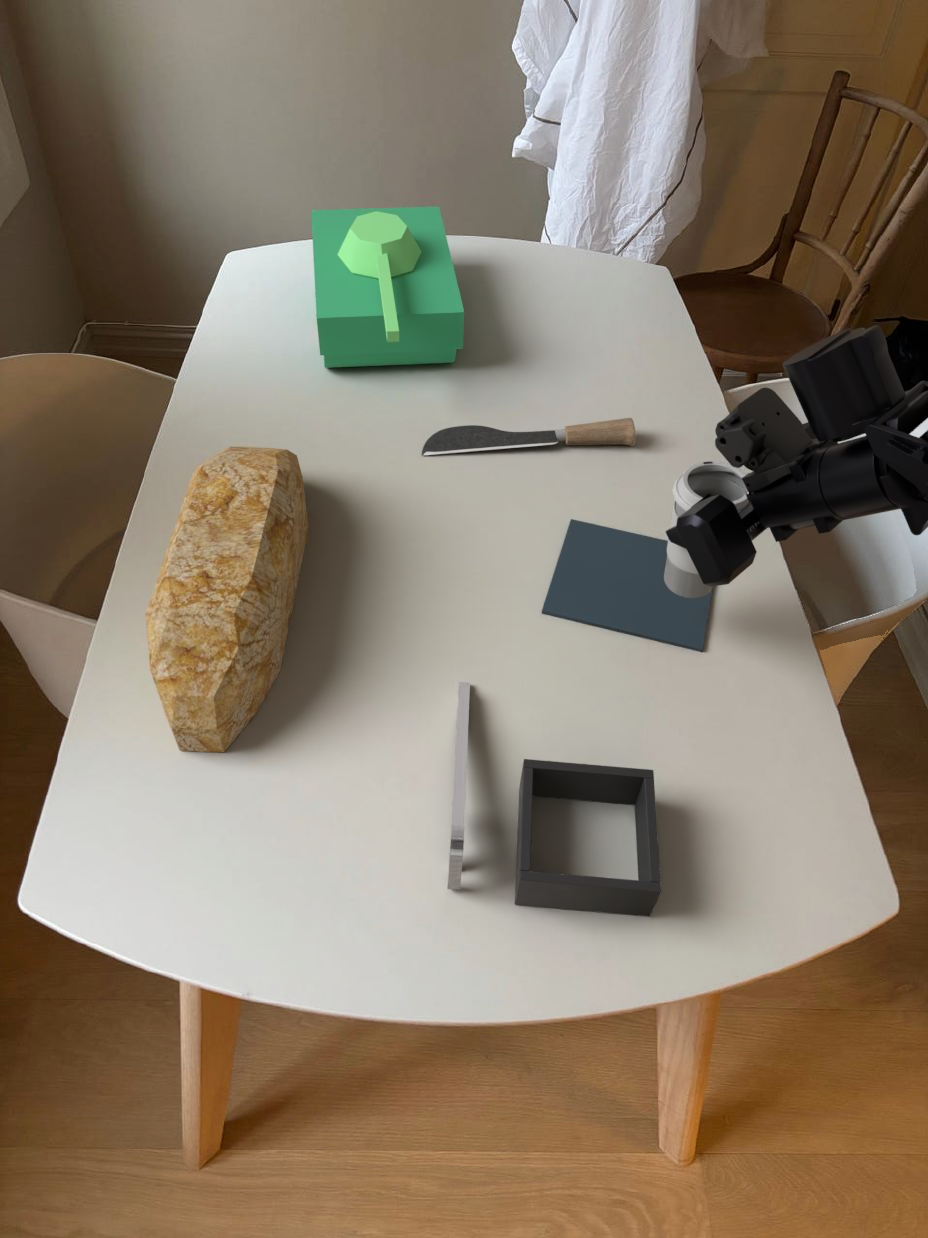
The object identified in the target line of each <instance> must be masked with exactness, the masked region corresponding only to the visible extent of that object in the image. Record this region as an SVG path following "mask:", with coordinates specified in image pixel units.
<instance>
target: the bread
mask: <svg viewBox="0 0 928 1238" xmlns="http://www.w3.org/2000/svg"><path fill="white" fill-rule="evenodd" d="M306 502H307V501H306V494H305V484H304V478H303V473H302V469H301V466H300V461H299V458H298V455H297V454H295V453H293V452H292V451H290V450H289V449H288V448H287V449H286V448H277V447H260V446H259V447H258V446H257V447H256V446H229V447H227V448H225V449H224V450H222V451H221V452H219V453H217V454H215V455H214V456H212V457H211V458H209V459H207V460H205V461H204V462H202V463H200V464H198V465H197V466H196V468H195V469H194V470H193V472H192V474H191V477H190V481H189V483H188V486H187V489H186V493H185V495H184V498H183V500H182V504H181V507H180V510H179V513H178V516H177V519H176V522H175V525H174V528H173V531H172V534H171V537H170V540H169V543H168V546H167V549H166V552H165V555H164V558H163V561H162V564H161V567H160V570H159V573H158V576H157V579H156V581H155V584H154V587H153V590H152V592H151V596H150V600H149V601H148V605H147V608H146V611H145V625H146V627H145V628H146V634H147V635H146V637H147V649H148V660H149V661H148V662H149V671H150V674H151V676H152V679H153V683H154V685H155V688H156V691H157V694H158V697H159V700H160V702H161V705H162V709H163V712H164V713H165V716H166V719H167V722H168V724H169V727H170V730H171V732H172V734H173V737H174V740H175V743H176V744H177V747H178V750H179V751H180V752H181V751H182V752H187V751H188V752H200V753H201V752H204V753H225V752H226V750H227V749H228V748H229V747H230V746H231V745H232V743H233V742H234V741H235V740H236V739H237V738H238V736H239V735H240V734H241V733H242V732H243V730H244V729H245V728H246V727H247V726H248V725H249V724H250V722H251V721H252V719H253V718H254V717H255V716H256V714H257V713H258V711H259V709H260V707H261V706H262V704H263V702H264V700H265V699H266V697H267V695H268V694H269V691H270V690H271V688H272V686H273V684H274V683H275V682H276V680H277V678H278V676H279V674H280V672H281V669H282V663H283V659H284V655H285V650H286V644H287V639H288V634H289V629H290V624H291V619H292V614H293V609H294V604H295V600H296V595H297V589H298V584H299V579H300V576H301V575H300V574H301V569H302V564H303V560H304V556H305V555H304V554H305V550H306V546H307V545H306V544H307V540H308V535H309V531H310V528H309V520H308V512H307V511H308V510H307V504H306Z"/></svg>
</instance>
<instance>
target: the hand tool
mask: <svg viewBox="0 0 928 1238" xmlns="http://www.w3.org/2000/svg"><path fill="white" fill-rule="evenodd" d="M559 442H564V443H565V445H566V446H593V445H594V446H595V445H599V446H600V445H624V446H634V445H635V443H636V427H635V422H634V420H633V418H632V417H625V418H617V419H610V420H602V421H594V422H586V423H580V424H571V425H566V426H564V428H561V429H551V430H535V431H509V430H502V429H498V428H494V427H490V426H485V425H475V424H473V425H470V424H469V425H457V426H451V427H446V428H443V429H440V430H437V431H436V432H435V433H433V434H432V435H431V436H430V437H429V438H427V440H426V441H425V442H424V444H423V447H422V451H421V456H435V455H445V454H457V453H467V452H468V453H469V452H480V451H493V450H503V449H515V448H528V447H539V446H540V447H542V446H550V445H551V446H552V445H556V444H558V443H559Z"/></svg>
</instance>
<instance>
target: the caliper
mask: <svg viewBox="0 0 928 1238" xmlns="http://www.w3.org/2000/svg"><path fill="white" fill-rule="evenodd" d="M470 695H471V683H470V682H461V681H459V684H458V701H457V716H456V717H457V720H456V735H455V753H454V754H455V756H454V771H453V789H452V806H451V808H452V809H451V825H450V840H449V841H450V843H449V858H448V877H447V890H461V886H462V884H461V883H462V872H463V859H464V857H463V856H464V843H465V819H466V818H465V817H466V816H465V815H466V811H465V810H466V792H467V790H466V789H467V769H468V768H467V766H468V765H467V764H468V741H469V719H470V717H469V716H470V698H471V697H470Z"/></svg>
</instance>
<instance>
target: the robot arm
mask: <svg viewBox="0 0 928 1238" xmlns="http://www.w3.org/2000/svg"><path fill="white" fill-rule="evenodd" d="M892 361H893V360H892V359H891V356H890V354H889V347H888V343H887V340H886V337H885V335H884V332H883V329H882V328H881V326H880V325H877V324H875V325H872V326H870V327H868V328H865V327H858V328H855V329H851V328H849V327H848V328H846V329H843V330H840V331H838V332H836V333H834V334H831V335H829V336H827V337H824V338H823V339H821V340H819V341H817V342H815V343H812V344H810V345H809V346H807V347H805V348H804V349H802V350H800V351H798V352H796V353H795V354H794V355H792V356H790V357H789V358H787V359H786V360H785V361H784V362H783V363H782V367H783V369H784V372H785V373H786V375H787V378H788V380H789V383H790V385H791V386H792V390H793V391H794V394H795V396H796V398H797V401H798V403H799V404H800V407H801V409H802V412H803V414H804V416H805V419H806V421H807V422H805V423H803V422H802V421H801V420H800V419H799V417H798V416H797V415H796V414H795V413H794V412H793V411H792V409H791V408H790V407H789V406H788V405H787V404H786V402H784V401H783V399H782V398H781V397H780V396H779V394H778V393H777V392H775V390H773V388H770V387H761V388H760V389H758V390H757V391H755V392H753V393H752V394H751V395H750V396H748V397H747V398H745V399H744V400H742V401H741V402H739V404H738V405H737V406H736V407H734V408H733V409H732V410H731V411H730V412H729V413H728V414H727V415H726V417H724V418H723V419H721V420H720V421H718V422H717V423H716V427H715V435H716V437H715V439H714V445H715V448H716V449H717V451H718V452H719V453H720V454H721V456H723V458H724V459H725V460H726V461H727V463H728V464H730V465H732V466H733V467H736V468H739V469H741V467H743V466H744V467H745V468H746V470H749V471H751V472H748V473H746V474H747V475H745V476H744V477H743V478H742V480H743V482H744V484H745V486H746V488H747V491H746V493H745V494H746V497H747V499H748V501H749V502H750V504H749V505H748V506H746V507H745V508H744V509H743V510H741V511H740V512H739V513H738V511H737V509H736V507H735V504H734V502H732V501H730V500H728V499H727V498H725V497H723V496H722V495H716V496H712V497H711V495H710V494H708V495H706V496H705V497H704V498H702V499H701V500H700V501H698V502H697V503H696V504H694V505H693V506H692V507H691V508H690V509H689V510H687V511H686V512H685V513H684V514H682V515H681V516H680V517H678V518H677V524H676V526H674V527H672V528H670V527H669V529H667V530H665V534H666V536H667V538H669V540H670V542H672V543H674V544H676V545H678V546H681V547H683V548H685V549H687V551H688V553H689V555H690V557H691V559H692V561H693V564H694V566H695V568H696V570H697V572H698V574H699V576H700V578H701V580H702V582H703V584H705V585H707V586H710V587H719V586H725V585H729V584H730V583H732V582H733V581H734V580H735V579H737V578H738V577H739V576H740V575H741V574H742V573H743V572H744V571H746V570H747V569H748V568H749V567H750V566H751V565H753V564H754V561H755V558H756V555H757V552H758V550H757V549H756V547H755V545H754V543H753V541H754V540H755V539H756V538H757V537H759V536H760V535H761V534H762V533H763V532H765V531H766V530H767V529H769V531H770V532H771V534H772V537H773V539H774V541H775V542H776V543H777V542H778V543H779V542H783V541H787V540H788V539H790V537H792V536H793V535H794V534H795V533H796V532H797V531H799V530H802V529H805V528H806V529H807V528H812V527H815V528H816V530H817V533H818V535H819V534H826V533H831V532H832V531H833V530H834V529H835V528H836V527H837V526H838V525H840V524H841V523H842V522H843V521H846V520H851V519H856V518H862V517H867V516H873V515H877V514H882V513H887V512H891V511H897V510H900V511H901V512H902V514H903V516H904V517H903V518H904V519H905V522H906V524H907V526H908V529H909V530H910V533H911V534H912V535H914V536H920V535H922V534H923V533H924V532H925V530H927V529H928V429H927V430H926V431H924V433H923V434H921V435H920V436H919V437H918V436H916V435H912V434H911V433H913V432H914V431H915V430H916V429H917V428H919V427H920V425H922V424H923V423H924V422H925V421H926V420H928V381H927V380H921V381H919V382H918V383H917V384H916V385H915V386H913V387H912V388H911V389H909V390H906V391H905V389H904V388H903V387H904V386H903V385H902V383H901V380H900V378H899V375H898V372H897V371H896V368H895V366H894V363H893V362H892ZM864 434H865V435H864ZM862 435H864V436H862ZM859 436H860V437H859Z"/></svg>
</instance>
